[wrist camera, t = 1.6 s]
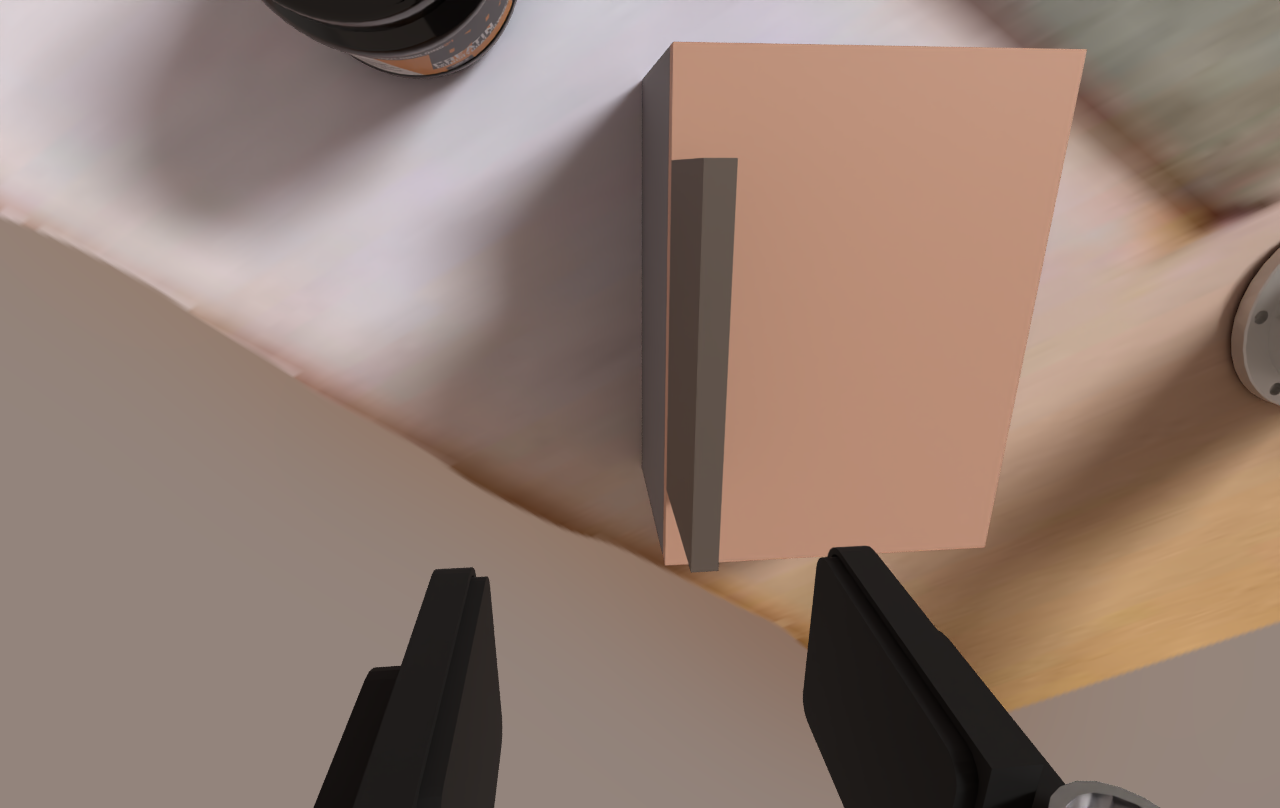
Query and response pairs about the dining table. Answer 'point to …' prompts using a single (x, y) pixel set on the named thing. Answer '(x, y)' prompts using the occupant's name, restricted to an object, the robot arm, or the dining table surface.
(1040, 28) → the dining table surface
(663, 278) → the carton
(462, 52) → the supplement container
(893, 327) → the lid
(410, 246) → the dining table surface
